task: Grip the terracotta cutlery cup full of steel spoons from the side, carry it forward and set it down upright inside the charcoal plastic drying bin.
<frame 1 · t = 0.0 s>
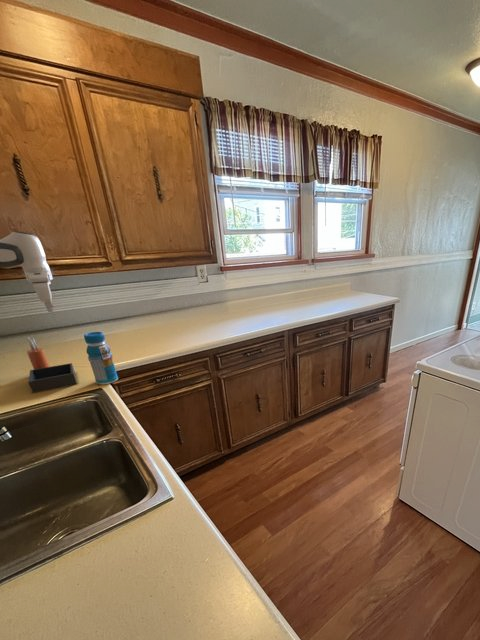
hand: (50, 309, 140), 26 cm above the worktop, tool pointing down, fingers open, 8 cm apart
beverage bottle: (107, 381, 135), on the worktop
cutlery cup: (44, 374, 142), on the worktop
drying bin: (55, 382, 134), on the worktop
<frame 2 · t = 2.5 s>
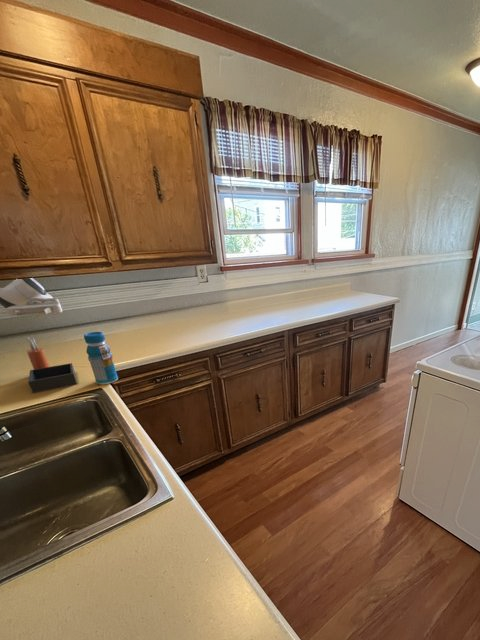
hand: (30, 313, 141), 24 cm above the worktop, tool horizontal, fingers open, 8 cm apart
nothing on the worktop moved.
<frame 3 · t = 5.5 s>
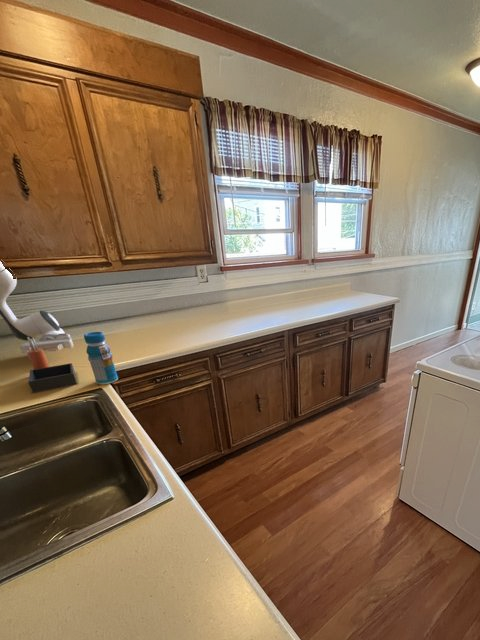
hand: (44, 350, 148), 8 cm above the worktop, tool horizontal, fingers open, 8 cm apart
nothing on the worktop moved.
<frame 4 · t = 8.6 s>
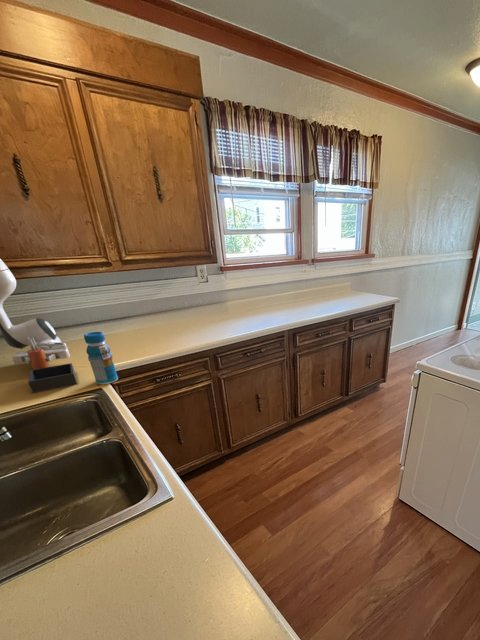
hand: (38, 360, 138), 7 cm above the worktop, tool horizontal, fingers closed on cutlery cup, 5 cm apart
cutlery cup: (44, 374, 142), on the worktop, touching gripper
everything else where it was.
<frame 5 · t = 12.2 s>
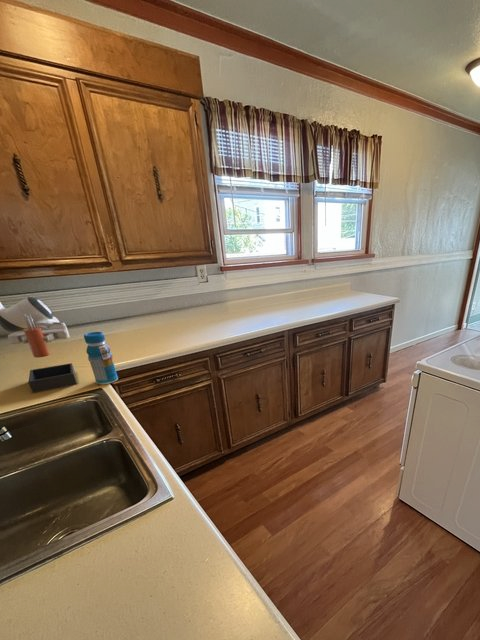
hand: (35, 340, 129), 17 cm above the worktop, tool horizontal, fingers closed on cutlery cup, 5 cm apart
cutlery cup: (42, 355, 133), point 10 cm above the worktop, touching gripper
everything else where it was.
when the fingers open (7 cm above the worktop, at t = 16.2 s): cutlery cup stays where it is, resting on drying bin.
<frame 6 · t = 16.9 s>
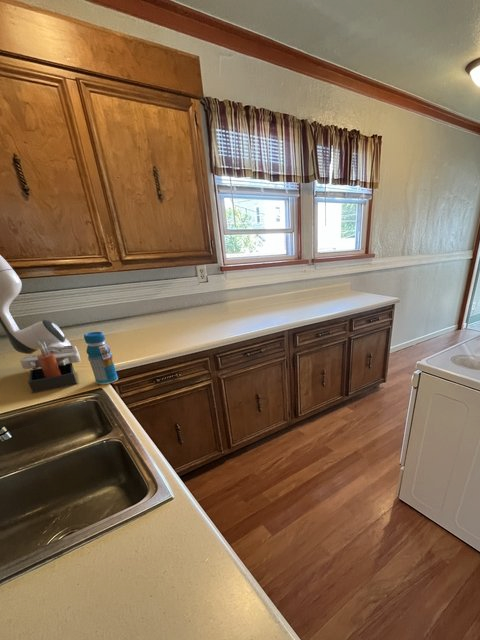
hand: (48, 365, 130), 8 cm above the worktop, tool horizontal, fingers open, 8 cm apart
cutlery cup: (55, 380, 134), point 1 cm above the worktop, touching drying bin
everything else where it was.
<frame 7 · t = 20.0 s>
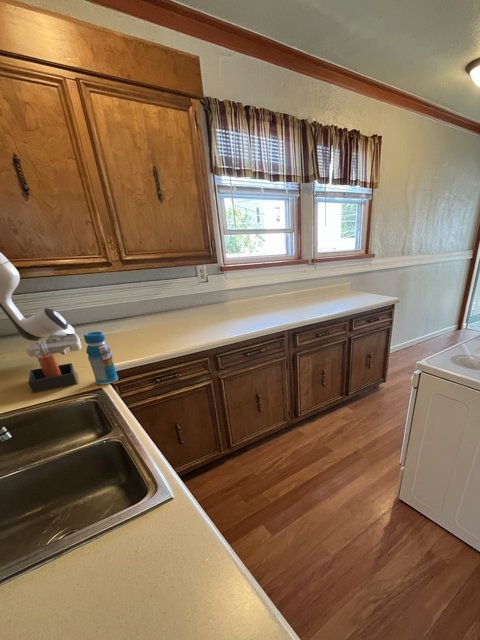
hand: (50, 354, 140), 8 cm above the worktop, tool horizontal, fingers open, 8 cm apart
nothing on the worktop moved.
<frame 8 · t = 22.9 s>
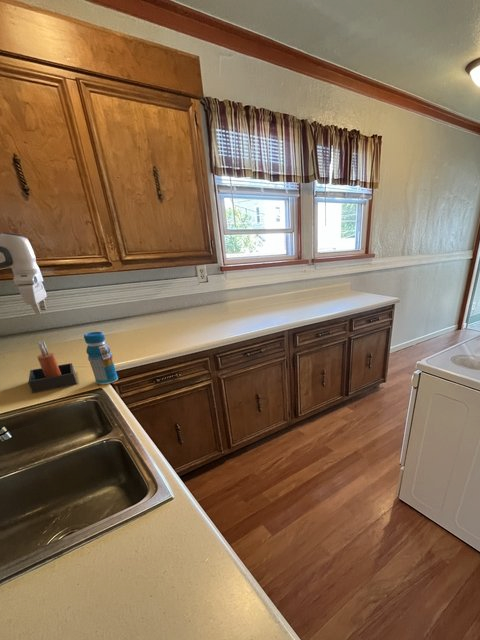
hand: (41, 312, 138), 25 cm above the worktop, tool pointing down, fingers open, 8 cm apart
nothing on the worktop moved.
at the end: cutlery cup inside the target area in the drying bin (0.1 cm from its centre), point 0.6 cm above the drying bin's base; cutlery cup tilted 0°; the gripper is holding nothing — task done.
